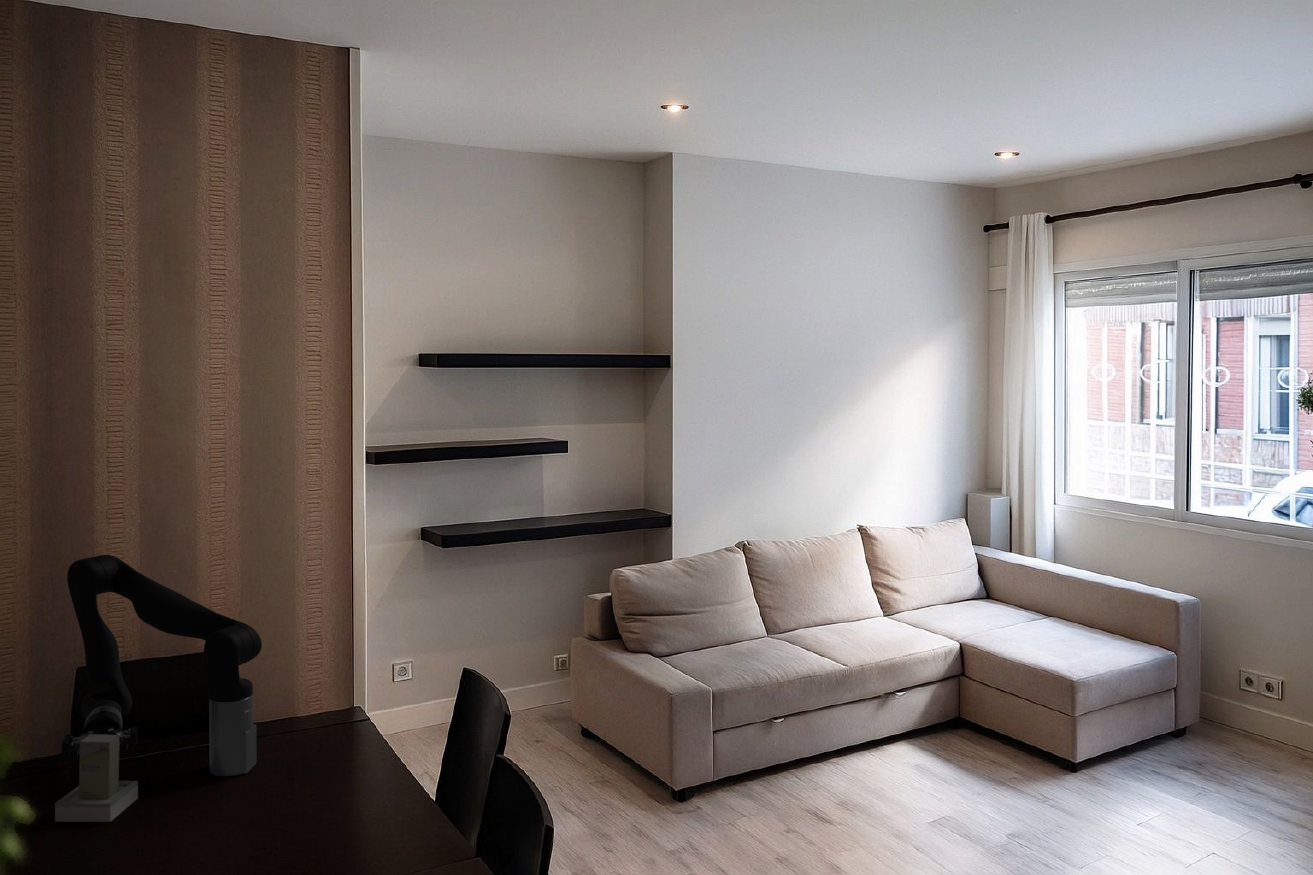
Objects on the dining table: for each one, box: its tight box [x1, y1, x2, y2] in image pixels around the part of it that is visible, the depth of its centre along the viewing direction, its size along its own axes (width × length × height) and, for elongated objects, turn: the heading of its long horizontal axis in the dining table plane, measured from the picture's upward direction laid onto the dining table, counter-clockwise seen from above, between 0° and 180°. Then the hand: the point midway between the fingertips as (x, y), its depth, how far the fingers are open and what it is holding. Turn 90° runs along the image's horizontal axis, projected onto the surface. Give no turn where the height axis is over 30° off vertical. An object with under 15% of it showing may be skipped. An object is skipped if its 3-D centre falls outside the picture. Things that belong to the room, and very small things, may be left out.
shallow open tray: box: [54, 780, 139, 823], centre depth 197 cm, size 11×11×4 cm
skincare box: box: [78, 734, 120, 799], centre depth 197 cm, size 6×4×12 cm
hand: (98, 752), depth 201 cm, fingers open, 8 cm apart
